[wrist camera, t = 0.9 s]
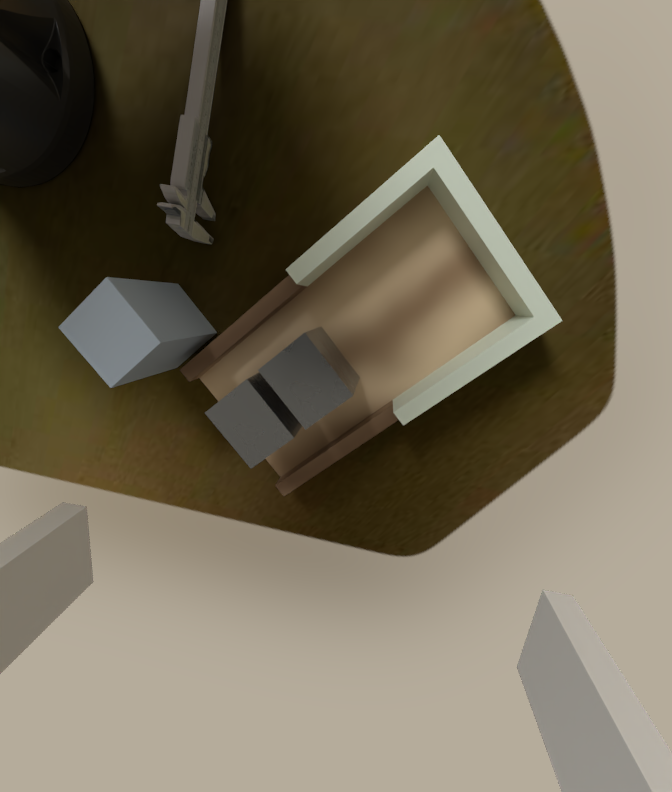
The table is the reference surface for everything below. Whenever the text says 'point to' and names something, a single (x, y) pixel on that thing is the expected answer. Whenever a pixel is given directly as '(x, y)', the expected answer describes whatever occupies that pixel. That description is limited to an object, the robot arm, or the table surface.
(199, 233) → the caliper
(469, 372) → the tray
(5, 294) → the table surface
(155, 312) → the grey block
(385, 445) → the table surface
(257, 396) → the grey squarish block
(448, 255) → the slot board
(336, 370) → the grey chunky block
